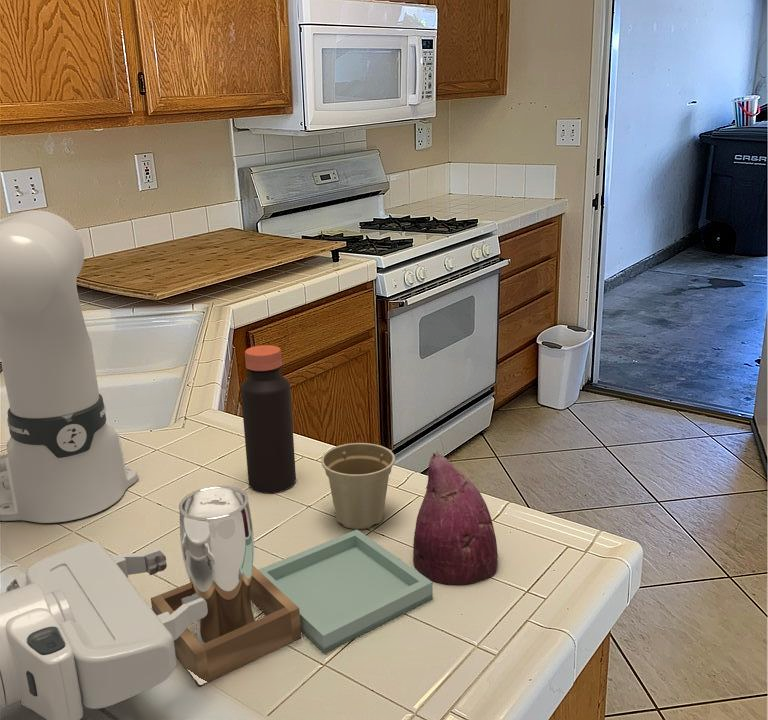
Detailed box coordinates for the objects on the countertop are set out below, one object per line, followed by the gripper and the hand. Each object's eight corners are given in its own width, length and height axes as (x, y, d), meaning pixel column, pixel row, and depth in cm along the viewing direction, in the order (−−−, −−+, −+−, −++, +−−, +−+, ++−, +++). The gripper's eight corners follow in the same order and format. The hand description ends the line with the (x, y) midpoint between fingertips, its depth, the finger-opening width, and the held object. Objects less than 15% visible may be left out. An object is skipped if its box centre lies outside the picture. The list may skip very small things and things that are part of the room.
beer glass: (231, 602, 82) (219, 478, 77) (275, 628, 78) (265, 498, 73) (177, 636, 77) (161, 504, 72) (221, 665, 73) (207, 527, 68)
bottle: (263, 499, 104) (253, 361, 98) (239, 482, 109) (228, 349, 103) (305, 484, 108) (297, 350, 102) (280, 468, 113) (271, 340, 107)
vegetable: (400, 588, 89) (363, 475, 86) (451, 541, 96) (417, 434, 93) (471, 603, 82) (433, 480, 79) (520, 551, 89) (487, 436, 86)
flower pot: (406, 528, 96) (406, 467, 93) (335, 543, 93) (332, 480, 90) (382, 495, 104) (380, 438, 102) (315, 508, 101) (312, 449, 99)
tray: (255, 587, 85) (254, 571, 84) (357, 544, 93) (356, 529, 92) (324, 653, 74) (323, 635, 73) (432, 598, 82) (432, 582, 81)
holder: (154, 626, 78) (150, 598, 77) (249, 587, 85) (247, 559, 84) (199, 686, 70) (195, 655, 69) (301, 637, 76) (299, 608, 75)
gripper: (6, 611, 73) (146, 560, 81) (68, 742, 57) (233, 664, 65) (-5, 554, 71) (139, 508, 79) (56, 674, 56) (227, 602, 63)
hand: (182, 579), depth 72 cm, fingers open, 8 cm apart
